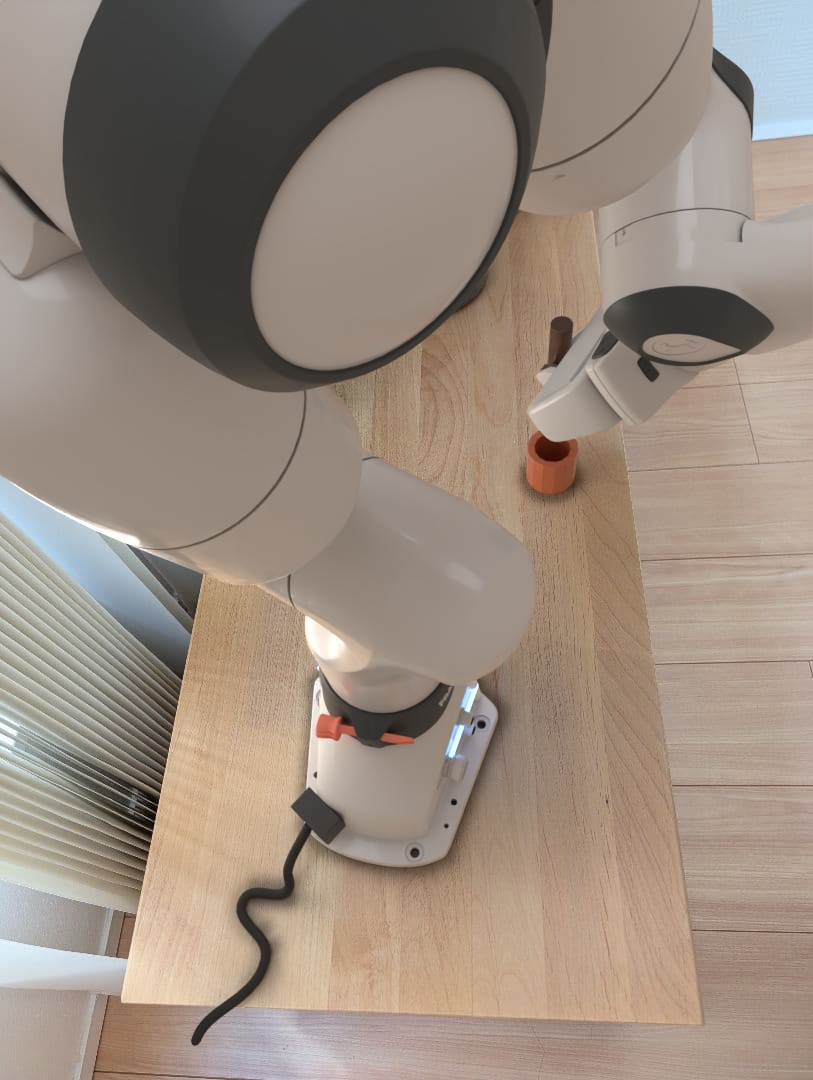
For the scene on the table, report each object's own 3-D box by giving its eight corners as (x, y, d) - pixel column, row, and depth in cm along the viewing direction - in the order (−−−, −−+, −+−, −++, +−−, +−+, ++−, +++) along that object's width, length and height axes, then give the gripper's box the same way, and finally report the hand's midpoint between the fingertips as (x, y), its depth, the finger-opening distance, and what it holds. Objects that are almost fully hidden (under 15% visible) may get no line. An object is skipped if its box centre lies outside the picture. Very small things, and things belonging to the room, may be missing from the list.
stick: (563, 419, 79) (572, 333, 68) (543, 417, 79) (549, 331, 69) (565, 404, 80) (574, 316, 69) (545, 402, 80) (551, 315, 70)
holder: (571, 500, 88) (575, 470, 83) (522, 495, 89) (523, 464, 84) (576, 461, 91) (581, 430, 85) (529, 456, 92) (530, 425, 87)
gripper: (700, 213, 65) (582, 271, 77) (588, 379, 57) (477, 415, 69) (738, 272, 67) (619, 320, 79) (635, 439, 60) (520, 464, 71)
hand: (551, 365), depth 74 cm, fingers closed on stick, 2 cm apart
